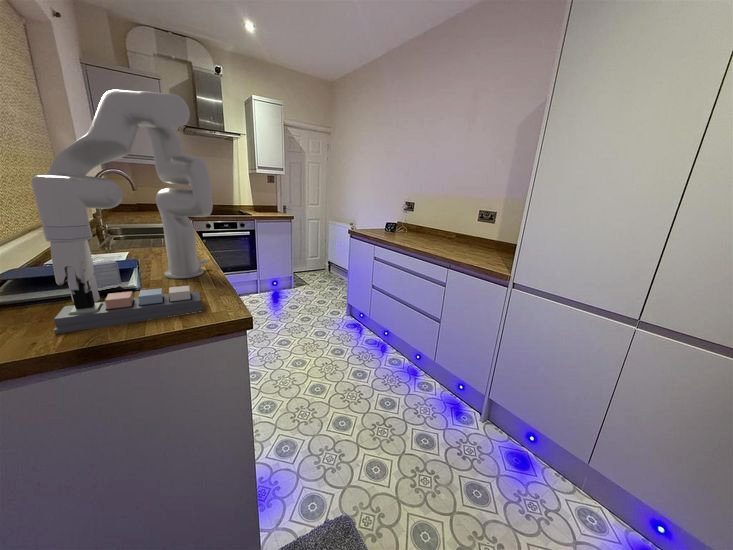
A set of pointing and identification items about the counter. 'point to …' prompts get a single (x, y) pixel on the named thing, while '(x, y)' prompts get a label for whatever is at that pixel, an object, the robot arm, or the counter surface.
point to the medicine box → (106, 273)
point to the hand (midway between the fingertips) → (85, 307)
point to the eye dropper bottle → (93, 288)
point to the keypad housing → (125, 313)
